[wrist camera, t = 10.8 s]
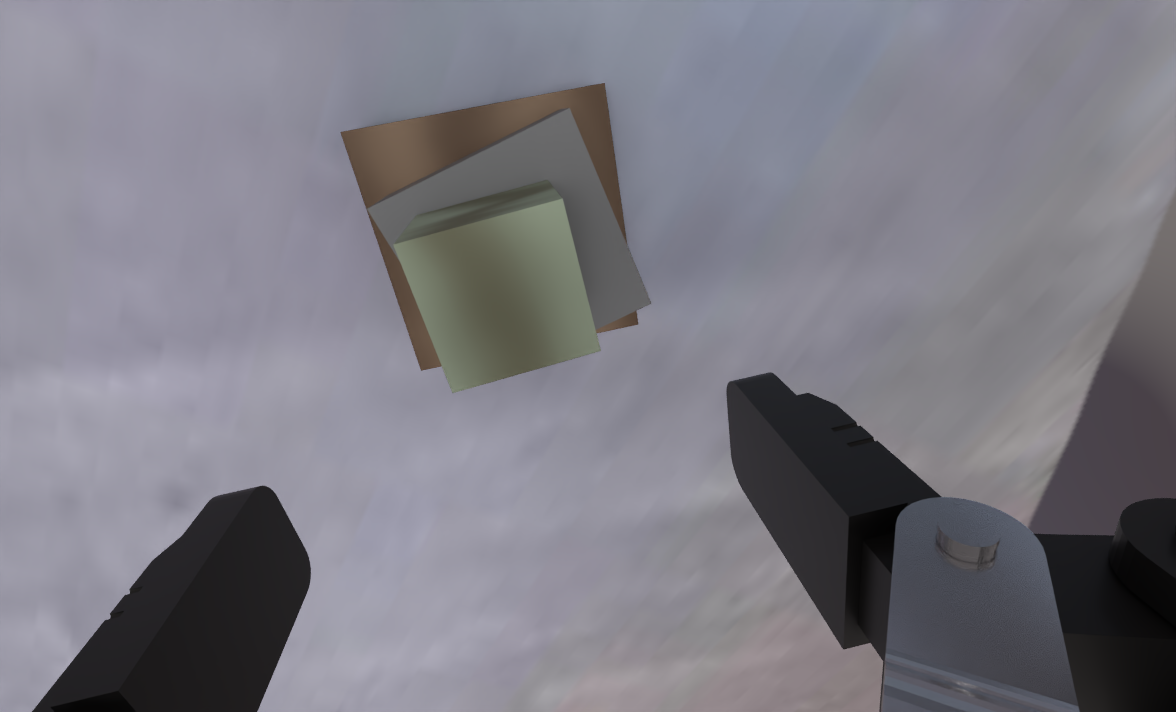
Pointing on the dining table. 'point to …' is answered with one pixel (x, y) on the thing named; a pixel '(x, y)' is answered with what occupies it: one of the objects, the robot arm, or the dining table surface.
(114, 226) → the dining table surface
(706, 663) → the dining table surface
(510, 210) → the green cube
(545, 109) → the bottom slab
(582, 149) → the top slab
